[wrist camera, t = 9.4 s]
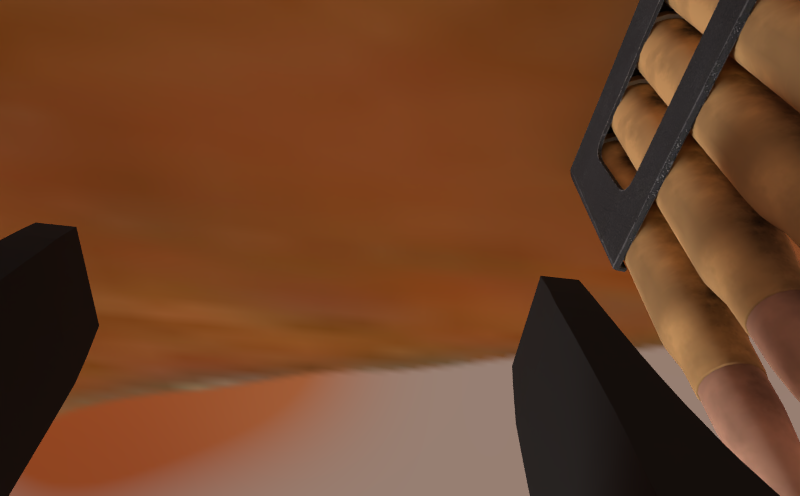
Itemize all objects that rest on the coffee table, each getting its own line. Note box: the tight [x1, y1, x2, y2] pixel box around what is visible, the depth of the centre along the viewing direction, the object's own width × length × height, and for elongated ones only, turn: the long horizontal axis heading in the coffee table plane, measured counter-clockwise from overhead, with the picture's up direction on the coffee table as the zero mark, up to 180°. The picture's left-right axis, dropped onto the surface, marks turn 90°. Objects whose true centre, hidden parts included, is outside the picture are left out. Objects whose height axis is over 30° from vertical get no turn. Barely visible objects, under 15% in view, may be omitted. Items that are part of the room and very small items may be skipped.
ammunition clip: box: [571, 0, 800, 496], centre depth 11 cm, size 11×2×12 cm, turn 169°
